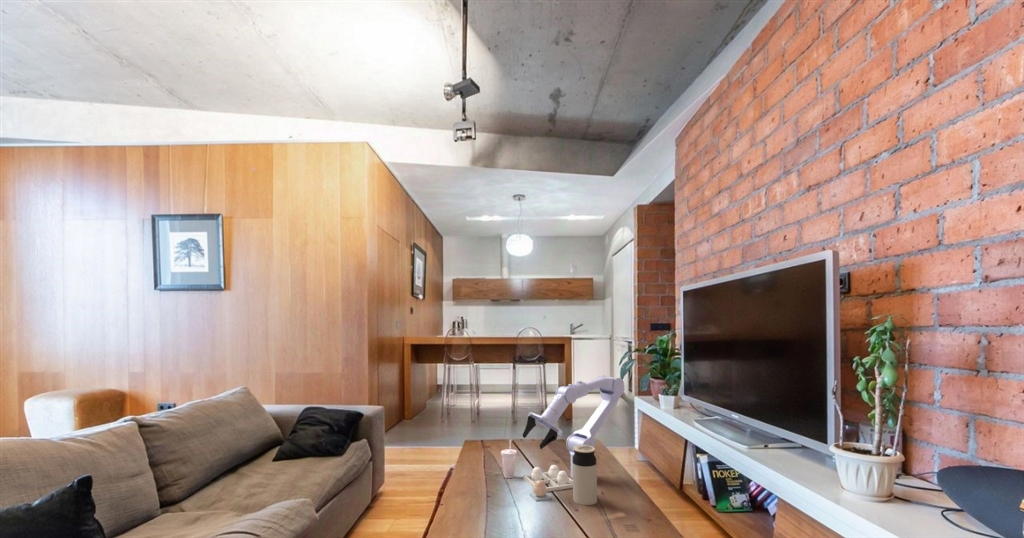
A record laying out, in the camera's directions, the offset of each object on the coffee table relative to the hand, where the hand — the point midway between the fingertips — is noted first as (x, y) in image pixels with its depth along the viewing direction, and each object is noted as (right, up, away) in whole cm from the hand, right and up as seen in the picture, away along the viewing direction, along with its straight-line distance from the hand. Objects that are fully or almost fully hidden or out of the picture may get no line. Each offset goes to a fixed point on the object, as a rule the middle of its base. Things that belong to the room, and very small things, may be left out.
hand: (531, 442), depth 164 cm
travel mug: (+17, -17, -11) cm, 27 cm away
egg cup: (+2, -17, -9) cm, 19 cm away
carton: (+7, -18, +5) cm, 20 cm away
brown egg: (+2, -16, -8) cm, 18 cm away
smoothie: (-8, -19, +14) cm, 25 cm away
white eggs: (+7, -18, +5) cm, 20 cm away
